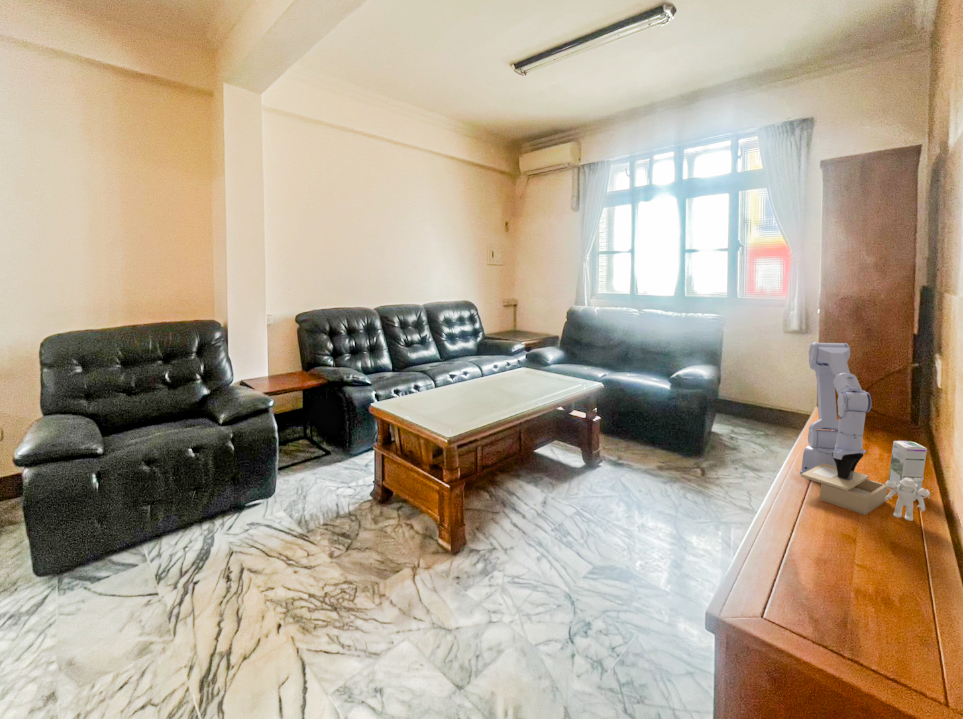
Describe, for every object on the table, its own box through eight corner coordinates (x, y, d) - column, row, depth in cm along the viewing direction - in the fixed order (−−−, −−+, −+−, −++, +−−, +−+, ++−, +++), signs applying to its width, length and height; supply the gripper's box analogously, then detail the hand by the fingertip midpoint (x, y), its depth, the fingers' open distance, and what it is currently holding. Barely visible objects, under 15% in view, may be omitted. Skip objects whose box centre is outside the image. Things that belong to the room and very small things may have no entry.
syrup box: (921, 493, 136) (929, 447, 134) (898, 492, 138) (905, 446, 135) (908, 485, 142) (915, 441, 139) (886, 484, 143) (892, 440, 140)
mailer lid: (801, 476, 138) (802, 466, 137) (823, 465, 145) (824, 455, 145) (846, 491, 128) (848, 480, 128) (868, 478, 136) (869, 467, 135)
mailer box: (819, 499, 135) (821, 483, 134) (840, 487, 142) (842, 472, 141) (865, 515, 125) (867, 498, 124) (885, 501, 133) (887, 485, 132)
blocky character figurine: (926, 520, 122) (933, 478, 120) (924, 526, 119) (931, 483, 117) (882, 508, 129) (888, 468, 127) (879, 513, 126) (885, 472, 124)
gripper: (856, 441, 125) (850, 487, 127) (877, 431, 132) (871, 475, 135) (826, 434, 131) (821, 478, 133) (848, 425, 138) (843, 467, 141)
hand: (844, 476), depth 134 cm, fingers closed on mailer lid, 2 cm apart
